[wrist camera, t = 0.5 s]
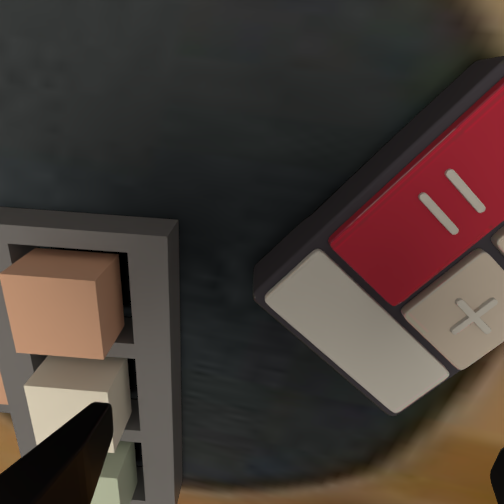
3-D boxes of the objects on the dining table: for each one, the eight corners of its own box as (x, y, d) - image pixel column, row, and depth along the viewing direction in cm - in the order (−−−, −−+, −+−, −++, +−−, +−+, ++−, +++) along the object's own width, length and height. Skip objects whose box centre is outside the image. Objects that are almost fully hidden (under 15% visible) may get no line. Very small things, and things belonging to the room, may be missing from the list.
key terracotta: (124, 325, 22) (103, 359, 20) (47, 319, 23) (16, 352, 20) (118, 254, 21) (95, 281, 18) (35, 247, 21) (-2, 273, 18)
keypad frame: (182, 479, 30) (175, 513, 27) (50, 468, 30) (31, 500, 28) (178, 219, 21) (167, 236, 19) (-4, 206, 22) (-37, 221, 19)
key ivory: (131, 411, 25) (114, 453, 22) (62, 406, 25) (36, 446, 22) (127, 355, 23) (107, 392, 21) (52, 349, 23) (23, 385, 21)
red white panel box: (670, 241, 17) (396, 431, 21) (592, 214, 21) (374, 378, 25) (529, 45, 15) (247, 305, 19) (470, 56, 19) (249, 268, 23)
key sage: (137, 482, 28) (122, 526, 25) (75, 476, 28) (53, 520, 25) (133, 436, 26) (117, 478, 23) (67, 430, 26) (42, 472, 23)
